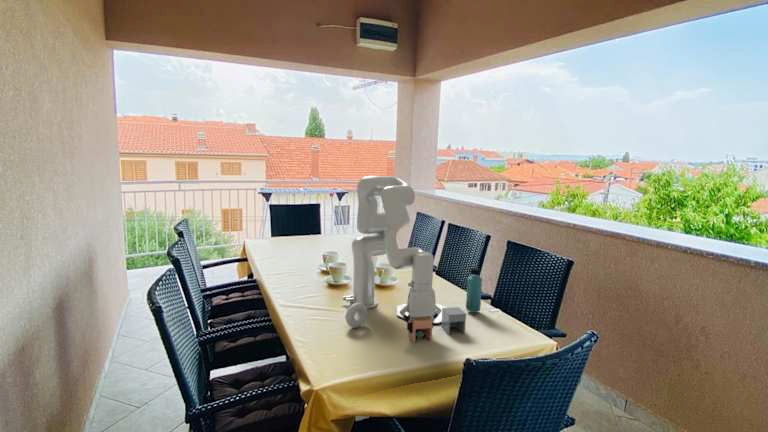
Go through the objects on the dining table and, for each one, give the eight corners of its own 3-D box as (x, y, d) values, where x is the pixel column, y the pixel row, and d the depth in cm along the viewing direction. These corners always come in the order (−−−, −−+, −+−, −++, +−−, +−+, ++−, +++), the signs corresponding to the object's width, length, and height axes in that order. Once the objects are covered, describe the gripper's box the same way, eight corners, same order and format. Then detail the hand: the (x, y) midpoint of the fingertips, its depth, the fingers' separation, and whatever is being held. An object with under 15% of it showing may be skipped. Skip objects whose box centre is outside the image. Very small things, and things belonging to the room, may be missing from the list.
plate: (396, 303, 186) (396, 300, 185) (447, 305, 185) (447, 302, 185) (396, 324, 162) (396, 321, 162) (455, 327, 162) (455, 323, 161)
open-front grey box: (447, 334, 153) (449, 314, 152) (441, 327, 160) (442, 308, 159) (464, 333, 155) (466, 313, 154) (457, 325, 162) (458, 307, 161)
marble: (417, 339, 149) (417, 331, 148) (414, 336, 151) (415, 328, 151) (424, 338, 149) (425, 331, 149) (422, 335, 152) (422, 327, 152)
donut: (348, 332, 153) (349, 307, 152) (343, 329, 156) (343, 304, 154) (369, 325, 160) (369, 301, 159) (363, 322, 162) (364, 299, 161)
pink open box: (413, 342, 146) (414, 321, 145) (408, 333, 153) (408, 314, 152) (431, 340, 148) (432, 320, 147) (425, 332, 155) (426, 312, 153)
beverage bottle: (481, 310, 179) (483, 267, 176) (479, 316, 172) (482, 271, 170) (466, 308, 181) (468, 265, 178) (464, 314, 174) (466, 269, 172)
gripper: (401, 289, 142) (400, 337, 144) (447, 287, 146) (445, 333, 148) (396, 283, 149) (395, 328, 152) (440, 281, 153) (438, 325, 156)
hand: (419, 330), depth 150 cm, fingers closed on pink open box, 7 cm apart
